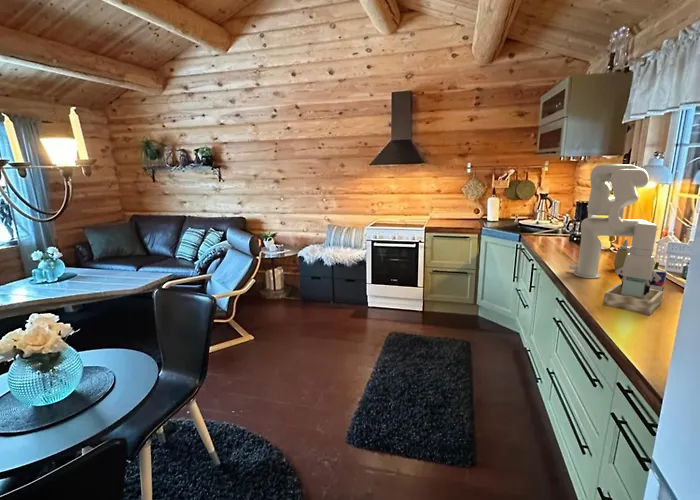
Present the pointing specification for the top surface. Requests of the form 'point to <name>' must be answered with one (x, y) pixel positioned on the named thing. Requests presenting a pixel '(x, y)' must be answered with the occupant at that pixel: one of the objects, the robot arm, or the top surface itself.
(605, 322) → the top surface
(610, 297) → the wooden crate
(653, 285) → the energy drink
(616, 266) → the squeeze bottle
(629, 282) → the small crate
